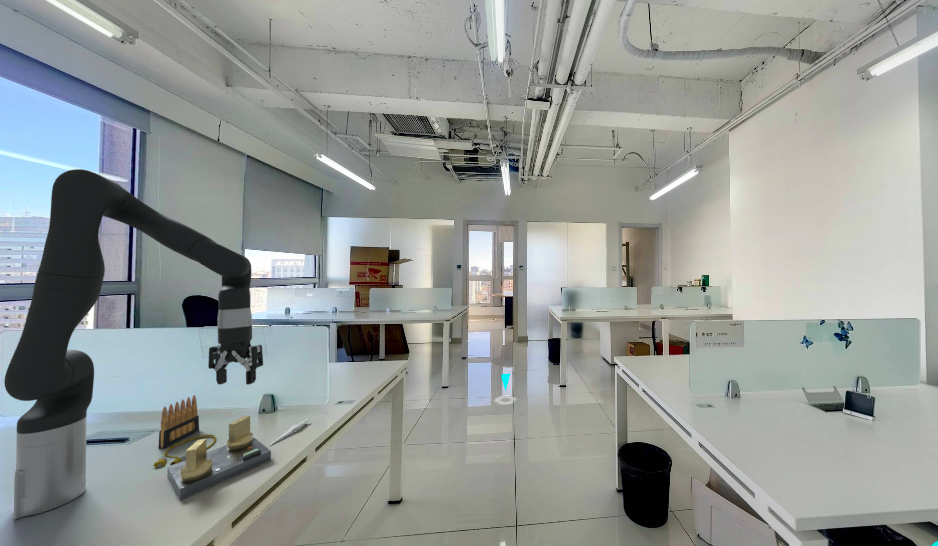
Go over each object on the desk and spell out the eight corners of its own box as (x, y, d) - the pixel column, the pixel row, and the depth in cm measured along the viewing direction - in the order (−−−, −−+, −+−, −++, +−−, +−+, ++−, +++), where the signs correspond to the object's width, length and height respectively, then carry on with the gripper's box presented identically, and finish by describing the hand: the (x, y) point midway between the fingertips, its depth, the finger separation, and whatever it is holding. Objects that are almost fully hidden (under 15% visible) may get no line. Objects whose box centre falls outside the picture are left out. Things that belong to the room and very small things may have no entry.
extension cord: (134, 467, 80) (134, 459, 80) (198, 436, 95) (198, 430, 95) (169, 472, 77) (169, 464, 77) (229, 440, 93) (229, 433, 93)
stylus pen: (305, 422, 103) (305, 417, 103) (311, 423, 102) (311, 417, 102) (265, 448, 88) (265, 442, 88) (272, 449, 88) (272, 443, 87)
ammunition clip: (163, 448, 88) (164, 407, 88) (158, 448, 88) (158, 407, 88) (199, 430, 98) (199, 394, 99) (194, 430, 99) (194, 393, 99)
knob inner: (205, 478, 70) (205, 448, 70) (174, 484, 68) (175, 453, 68) (218, 462, 76) (218, 434, 76) (190, 467, 74) (190, 439, 74)
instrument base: (179, 500, 66) (179, 484, 66) (167, 476, 75) (167, 462, 75) (271, 460, 81) (270, 447, 81) (252, 444, 89) (252, 432, 89)
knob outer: (240, 451, 81) (240, 425, 81) (221, 450, 81) (221, 424, 82) (259, 438, 87) (259, 414, 87) (242, 437, 88) (242, 413, 88)
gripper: (198, 327, 80) (199, 388, 79) (247, 326, 78) (248, 388, 78) (224, 323, 87) (225, 379, 87) (269, 322, 86) (270, 378, 85)
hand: (236, 383), depth 82 cm, fingers open, 8 cm apart
